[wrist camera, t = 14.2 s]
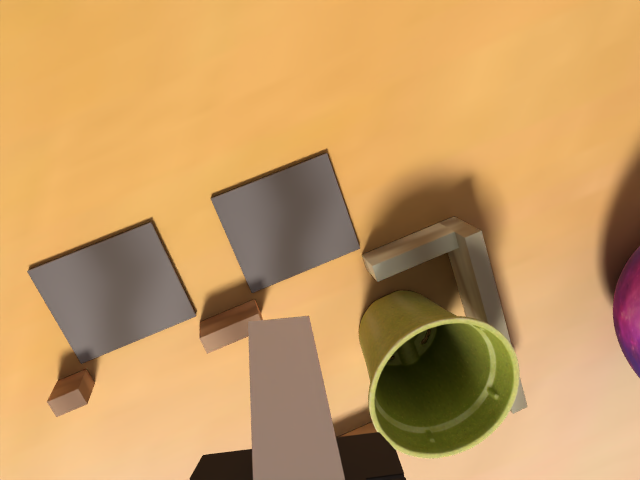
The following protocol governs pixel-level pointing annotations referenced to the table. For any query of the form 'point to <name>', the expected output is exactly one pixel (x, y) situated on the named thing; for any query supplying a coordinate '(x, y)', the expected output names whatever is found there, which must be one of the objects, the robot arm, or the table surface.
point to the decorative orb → (629, 311)
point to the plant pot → (435, 376)
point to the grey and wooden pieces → (257, 266)
